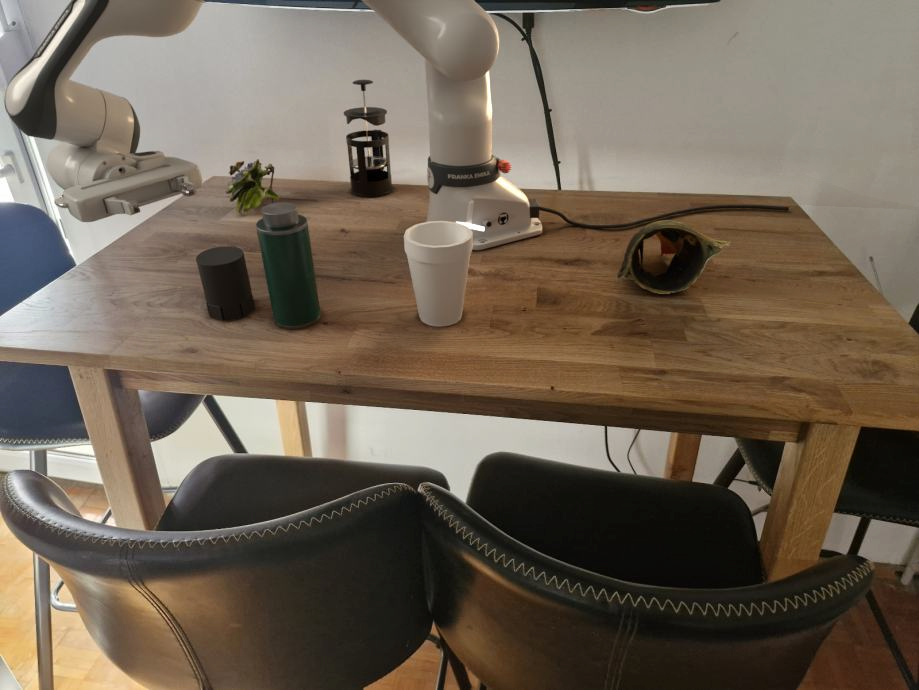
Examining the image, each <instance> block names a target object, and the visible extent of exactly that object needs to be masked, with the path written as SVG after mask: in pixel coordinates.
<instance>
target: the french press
mask: <svg viewBox="0 0 919 690" xmlns="http://www.w3.org/2000/svg"><path fill="white" fill-rule="evenodd" d="M352 84H353V85H357V86H360V90H361V92H362V99H363V106H362V107H354V108H349V109H346V110H344V111H343V116H345V119H346V124H347V125H349V124H351V122H353V121H355V120H359V119H361V120H364V121H365V130H358V131H353V132H350V133H348V134H346V135H345V140H346V145H347V154H348V165H349V173H350V175H349V179H350V189H349V190H350V194H352V195H353V196H356V197H359V198H367V199H368V198H381V197H384V196H387V195H389V194H391V193H392V192H393V191H394V186H393V183H392V182H393V181H392V171H391V158H390V157H391V156H390V137H389V136H390V135H389V133H388V132H385V131H383V130H382V129H369V128H368V123H369V124H370V125H372V126H377V127H378V126H381V125H384V124H385V123H386V115H387V113H388V111H387V109H385V108H382V107H376V106H367V105H366V104H367V103H366V94H365V93H366V92H365V91H367V90H366V89H367V87H366V86H367V85H371V84H374V81H373V80H371V79H357V80H354V81H352ZM358 138H366V140H356V139H358ZM369 138H371V140H369ZM354 139H355V140H354ZM384 146H385V157H384ZM353 148H356V158H353ZM366 148H367V156H366V151H365V149H366ZM370 148H371V151H372V155H371V154H370V153H371V152H370ZM385 168H386V170H385ZM355 170H357V171H356V172H355Z"/></svg>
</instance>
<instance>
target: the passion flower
mask: <svg viewBox="0 0 919 690" xmlns="http://www.w3.org/2000/svg"><path fill="white" fill-rule="evenodd" d="M244 164H245V161H244V160H242V161H236V162H235V165H234V164H233V165H230V166H229V171H228V174H229V175H230V176H231V180H229V181H228V183H227V187H228V188H227V189H226V190H225V194H227V195H229V194H231V195H230V196H229V202H230V203H233V202H234V201H235V200H237V201H236V209H237V213H239V214H240V216H243V213H245V214H246V213H248V212H249V211H250V210H255V209H257V208H258V207H259V206H260V205H262V204H263V203H262V202H263V201H264V200H266V199H267V197H268V198H270V199H271V204H273V203H275V200H278V201H280V200H281V198H280V196H279V195H278V194H277V193H276V192H275V191H273V182H274V181H273V180H274V174H275V166H273V164H272V163H268V164H267V165H266V166H264V170H263V168H262V165H263V164H262V163H261V162H260V159H259V158H257V159H255V160H254V162H249V163H247V166H244ZM243 166H244V168H243V169H241V168H242V167H243ZM270 174H271V177H270V185H269V187H263V185H262V182H263V179H264V177H265V176H270ZM233 175H234V176H233Z"/></svg>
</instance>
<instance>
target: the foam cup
mask: <svg viewBox="0 0 919 690" xmlns="http://www.w3.org/2000/svg"><path fill="white" fill-rule="evenodd" d="M403 241H404V242H403V246H404V252H405V254H406V257H407V263H408V267H409V273H410V277H411V282H412V287H413V293H414V299H415V302H416V303H415V304H416V308H417V313H418V318H419V319H420V321H421V322H422V323H424V324H426V325H428V326H430V327H431V326H432V327H439V328H441V327H450V326H451V325H454V324H457V323H458V322H460V321H461V320H462V317H463V310H464V309H463V308H464V303H465V297H466V289H467V282H468V273H469V267H470V259H471V254H472V253H473V250H472V248H473V232H472V231H471V230H470V229H469V228H468V226H465V225H462V224H460V223H457V222H449V221H430V222H426V221H425V222H421V223H415V224H414V225H412V226H410V227H408V228H407V229H405V233H404V234H403Z"/></svg>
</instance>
